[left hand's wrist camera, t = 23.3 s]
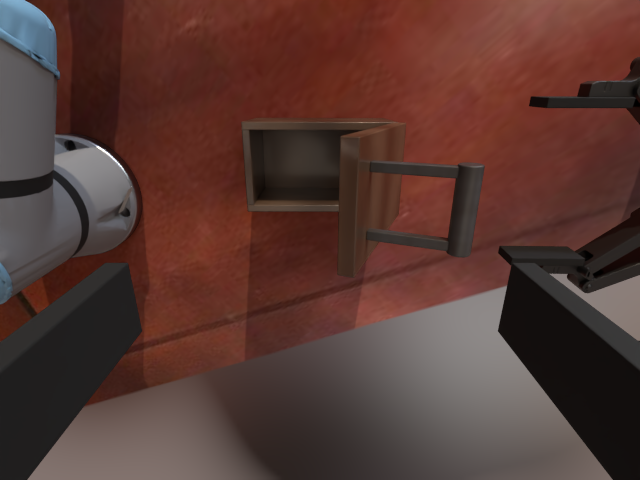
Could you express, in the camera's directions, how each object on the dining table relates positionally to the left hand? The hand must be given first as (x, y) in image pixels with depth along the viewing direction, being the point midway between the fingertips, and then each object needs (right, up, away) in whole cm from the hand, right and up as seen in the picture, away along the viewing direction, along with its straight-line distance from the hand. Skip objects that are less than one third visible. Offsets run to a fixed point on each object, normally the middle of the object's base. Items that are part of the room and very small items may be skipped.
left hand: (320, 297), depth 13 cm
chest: (0, +12, +33) cm, 35 cm away
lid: (+4, +6, +17) cm, 19 cm away
